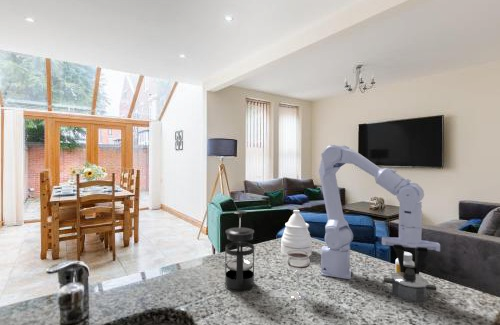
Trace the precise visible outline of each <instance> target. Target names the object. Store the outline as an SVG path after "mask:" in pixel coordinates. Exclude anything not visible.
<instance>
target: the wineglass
mask: <svg viewBox="0 0 500 325" xmlns="http://www.w3.org/2000/svg"><path fill="white" fill-rule="evenodd" d="M287 255H288V256H287ZM287 255H286V263H287V264H286V265H287V267H288V268H289V269H290V270H291V271H292V272H294V273H295V274H296V290H292V291H290V292H289V297H290V298H292V299H295V300H304V299H306V298H307V293H305V292H303V290H302V291H301V290H299V288H300V287H299V286H300V274H301V273H303V272H305V271H306V270H308V269H309V267H310V265H311V259H310V256H311V255H310V254H309V253H308V252H306V251H302V250H291V251H288V252H287Z"/></svg>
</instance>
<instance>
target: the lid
mask: <svg viewBox="0 0 500 325" xmlns="http://www.w3.org/2000/svg"><path fill="white" fill-rule="evenodd" d="M391 279H392V280H393V281H395V282H396V283H398V284H401V285H404V286H407V287H412V288H425V287H427V286H428V284H429V283H428V280H427V279H426V278H424V277H422V276H420V275H418V274H416V267H414V266H411V265H404V273H403V272H398V273H395V272H394V273H392V274H391Z"/></svg>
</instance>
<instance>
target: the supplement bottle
mask: <svg viewBox="0 0 500 325" xmlns="http://www.w3.org/2000/svg"><path fill="white" fill-rule="evenodd" d="M394 262H395V263H394V266H395V267H394V273H398V272H401V271H400V265H399V261H398V257H397V258H396V259H395V261H394ZM403 264H404V265H411V266H414V267H415V261H413V254H412V253H411V252H408V251H404V259H403Z"/></svg>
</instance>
